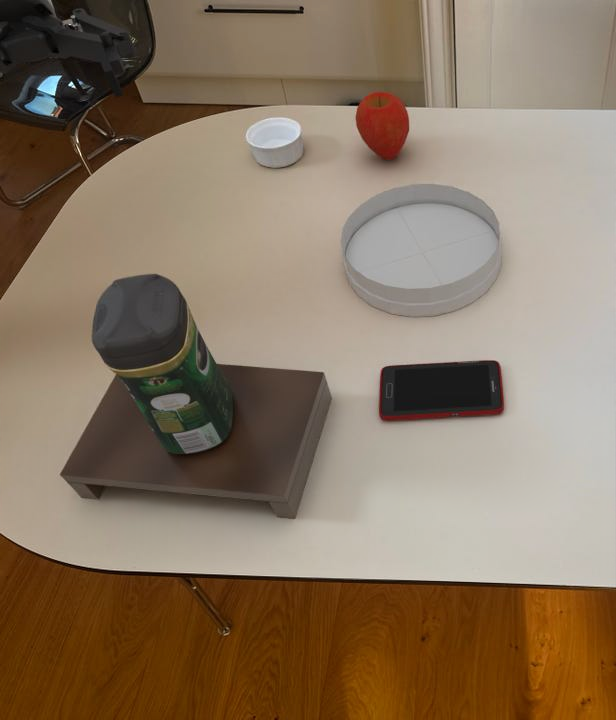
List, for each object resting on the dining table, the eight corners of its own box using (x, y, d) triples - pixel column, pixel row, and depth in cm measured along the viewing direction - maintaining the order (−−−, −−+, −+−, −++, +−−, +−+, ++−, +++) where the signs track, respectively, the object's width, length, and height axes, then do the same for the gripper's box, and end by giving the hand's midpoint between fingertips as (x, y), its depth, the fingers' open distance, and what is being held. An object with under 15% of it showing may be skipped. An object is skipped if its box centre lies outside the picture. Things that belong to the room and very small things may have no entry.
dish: (374, 338, 91) (368, 311, 87) (326, 235, 103) (319, 208, 100) (528, 286, 96) (530, 258, 92) (464, 194, 109) (463, 167, 105)
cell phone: (381, 370, 87) (380, 365, 86) (500, 363, 87) (500, 358, 86) (379, 422, 82) (377, 417, 81) (504, 415, 82) (504, 410, 82)
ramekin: (271, 135, 120) (264, 112, 117) (316, 145, 118) (311, 122, 115) (242, 164, 115) (234, 141, 112) (289, 175, 113) (282, 152, 110)
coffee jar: (163, 393, 79) (89, 272, 65) (235, 379, 80) (178, 258, 66) (158, 465, 73) (76, 350, 59) (236, 450, 74) (173, 333, 60)
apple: (351, 156, 116) (339, 95, 108) (391, 135, 120) (383, 75, 111) (383, 179, 112) (373, 118, 104) (424, 157, 115) (418, 96, 107)
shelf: (81, 498, 77) (59, 474, 73) (142, 382, 87) (125, 356, 83) (295, 519, 75) (283, 496, 71) (332, 397, 85) (324, 371, 81)
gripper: (143, 22, 87) (184, 103, 74) (-83, 75, 79) (-77, 174, 67) (117, -44, 81) (157, 32, 69) (-129, 7, 74) (-131, 102, 62)
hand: (41, 103), depth 68 cm, fingers open, 13 cm apart
